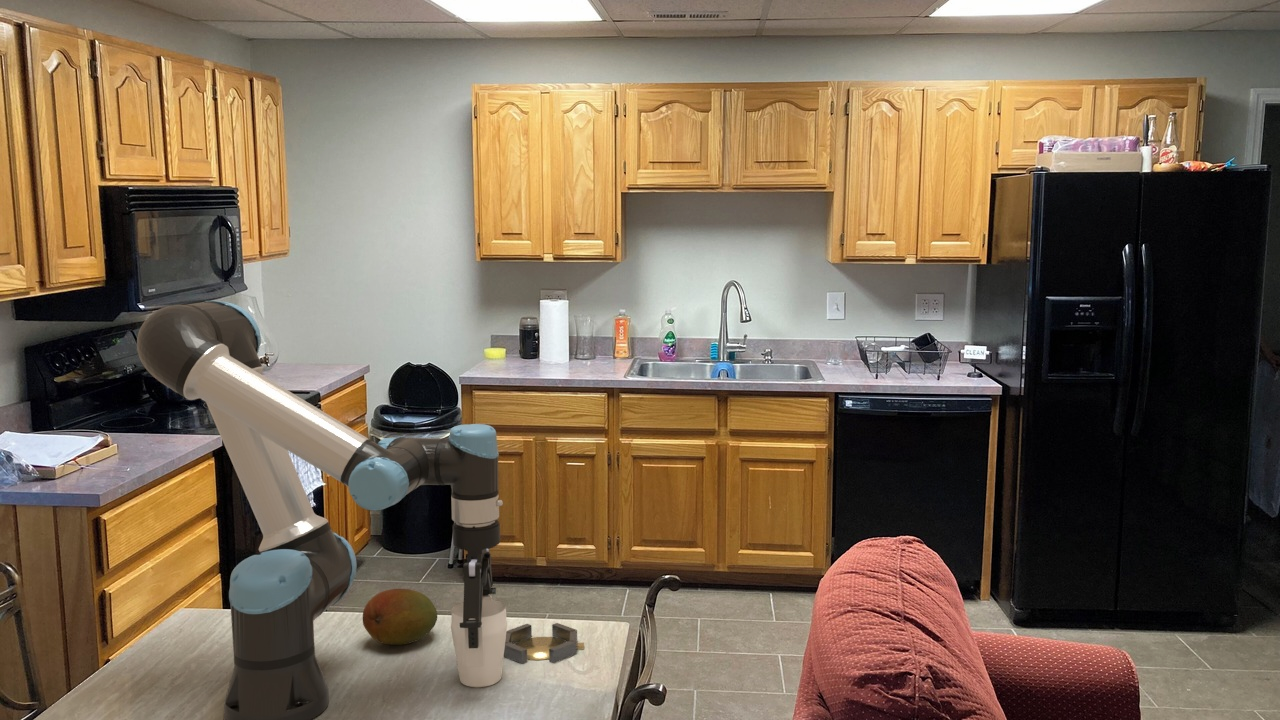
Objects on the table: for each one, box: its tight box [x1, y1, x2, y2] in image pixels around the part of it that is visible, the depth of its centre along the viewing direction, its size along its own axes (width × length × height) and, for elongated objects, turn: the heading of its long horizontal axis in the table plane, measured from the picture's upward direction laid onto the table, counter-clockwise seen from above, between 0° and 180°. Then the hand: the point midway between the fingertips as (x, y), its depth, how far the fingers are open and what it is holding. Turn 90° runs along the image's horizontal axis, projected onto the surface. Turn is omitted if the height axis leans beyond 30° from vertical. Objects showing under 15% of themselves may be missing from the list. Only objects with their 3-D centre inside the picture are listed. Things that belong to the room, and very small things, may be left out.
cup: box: [450, 599, 508, 688], centre depth 165 cm, size 9×9×12 cm
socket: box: [503, 622, 585, 665], centre depth 177 cm, size 15×13×2 cm
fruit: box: [362, 588, 438, 646], centre depth 181 cm, size 12×13×10 cm
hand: (479, 649), depth 165 cm, fingers open, 12 cm apart
